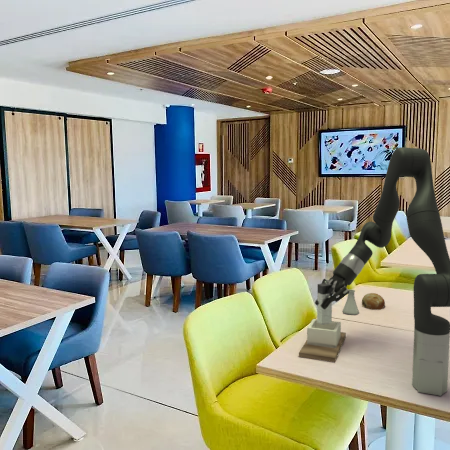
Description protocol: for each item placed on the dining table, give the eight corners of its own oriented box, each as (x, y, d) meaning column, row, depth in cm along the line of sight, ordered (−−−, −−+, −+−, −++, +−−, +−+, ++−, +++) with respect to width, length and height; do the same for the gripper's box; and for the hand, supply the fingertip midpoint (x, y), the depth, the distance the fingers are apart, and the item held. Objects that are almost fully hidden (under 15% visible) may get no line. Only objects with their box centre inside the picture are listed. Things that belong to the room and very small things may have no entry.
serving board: (334, 362, 147) (335, 357, 147) (298, 356, 152) (298, 352, 151) (345, 336, 169) (345, 332, 169) (313, 332, 174) (313, 328, 173)
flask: (340, 314, 195) (340, 291, 193) (344, 309, 201) (344, 287, 200) (357, 316, 191) (358, 293, 190) (360, 311, 198) (361, 289, 196)
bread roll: (359, 312, 208) (354, 297, 205) (375, 300, 211) (370, 286, 209) (375, 318, 199) (369, 303, 197) (391, 305, 202) (386, 291, 200)
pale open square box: (336, 348, 154) (336, 331, 154) (307, 344, 158) (307, 327, 158) (340, 337, 164) (340, 322, 163) (313, 334, 167) (313, 318, 167)
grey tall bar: (331, 323, 160) (332, 284, 158) (322, 324, 158) (322, 286, 156) (326, 320, 162) (327, 282, 160) (317, 322, 161) (317, 284, 159)
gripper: (331, 258, 167) (302, 294, 164) (355, 266, 154) (324, 305, 151) (342, 271, 169) (314, 307, 166) (367, 279, 156) (337, 318, 153)
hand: (319, 306), depth 159 cm, fingers closed on grey tall bar, 3 cm apart
